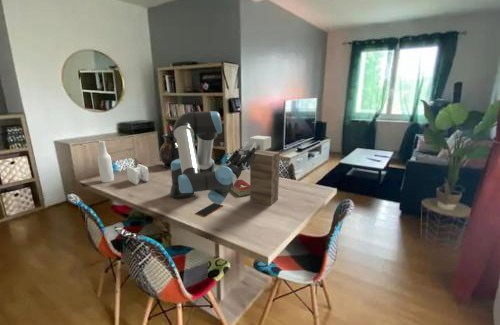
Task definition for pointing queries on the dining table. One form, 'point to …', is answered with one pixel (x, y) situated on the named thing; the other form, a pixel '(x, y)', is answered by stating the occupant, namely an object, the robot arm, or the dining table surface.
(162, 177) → the dining table surface
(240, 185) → the hardcover book
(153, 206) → the dining table surface
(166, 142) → the amphora vase
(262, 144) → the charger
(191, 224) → the dining table surface
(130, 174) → the cable organizer
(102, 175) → the alcohol
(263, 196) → the stand
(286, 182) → the dining table surface
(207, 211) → the smartphone
